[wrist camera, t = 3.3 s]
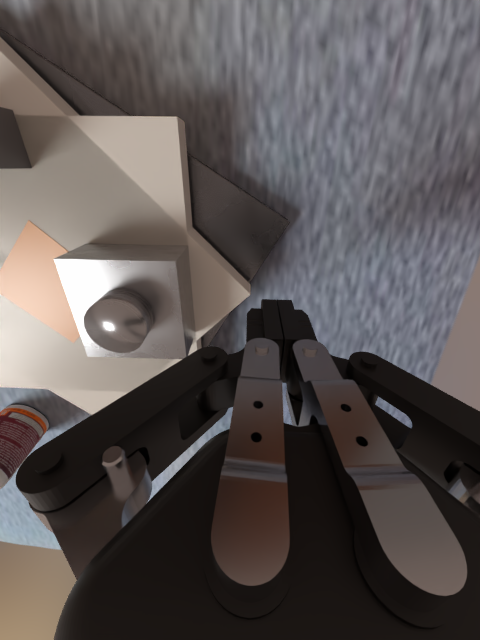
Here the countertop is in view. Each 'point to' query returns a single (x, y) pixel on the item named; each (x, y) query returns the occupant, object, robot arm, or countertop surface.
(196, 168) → the base
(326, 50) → the countertop surface
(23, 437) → the pill bottle
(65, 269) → the cover
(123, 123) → the turntable
